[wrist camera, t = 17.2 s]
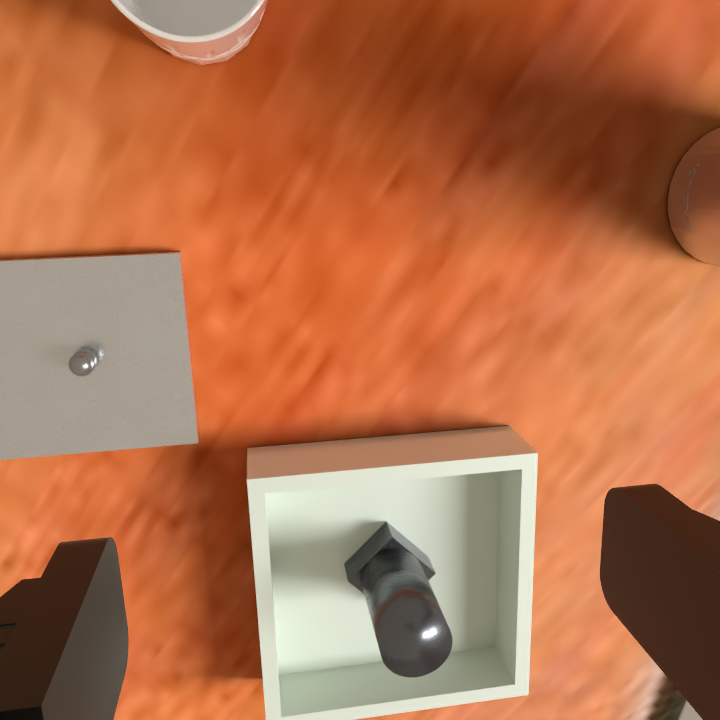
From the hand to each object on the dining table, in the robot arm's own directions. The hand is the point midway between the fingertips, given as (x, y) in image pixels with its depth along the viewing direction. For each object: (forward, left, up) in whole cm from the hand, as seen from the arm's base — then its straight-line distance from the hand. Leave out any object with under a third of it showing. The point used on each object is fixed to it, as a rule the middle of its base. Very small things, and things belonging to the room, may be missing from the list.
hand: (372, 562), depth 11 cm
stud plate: (+12, +4, -33) cm, 35 cm away
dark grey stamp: (-6, +20, -32) cm, 38 cm away
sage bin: (-6, +20, -33) cm, 39 cm away
